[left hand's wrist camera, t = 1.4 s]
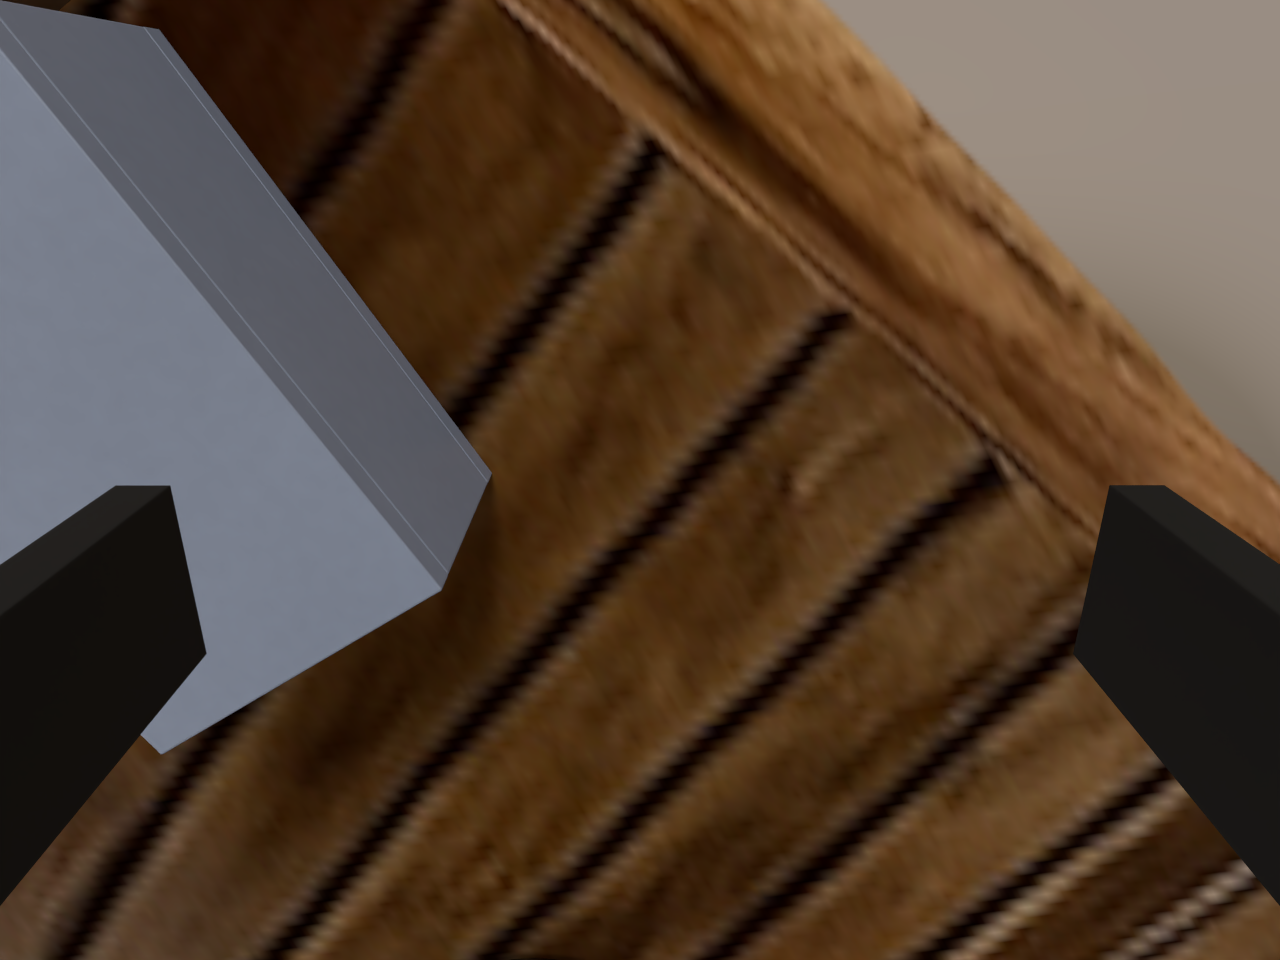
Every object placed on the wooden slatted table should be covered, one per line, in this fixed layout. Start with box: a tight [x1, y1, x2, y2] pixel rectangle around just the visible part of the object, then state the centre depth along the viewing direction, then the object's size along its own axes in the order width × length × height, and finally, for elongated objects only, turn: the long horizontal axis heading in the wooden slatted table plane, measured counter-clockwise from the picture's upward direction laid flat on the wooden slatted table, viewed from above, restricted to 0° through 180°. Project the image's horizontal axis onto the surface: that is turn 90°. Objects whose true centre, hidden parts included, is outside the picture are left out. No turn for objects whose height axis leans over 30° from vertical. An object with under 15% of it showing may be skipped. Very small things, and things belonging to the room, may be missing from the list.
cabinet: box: [0, 0, 492, 754], centre depth 28 cm, size 18×11×9 cm, turn 32°
